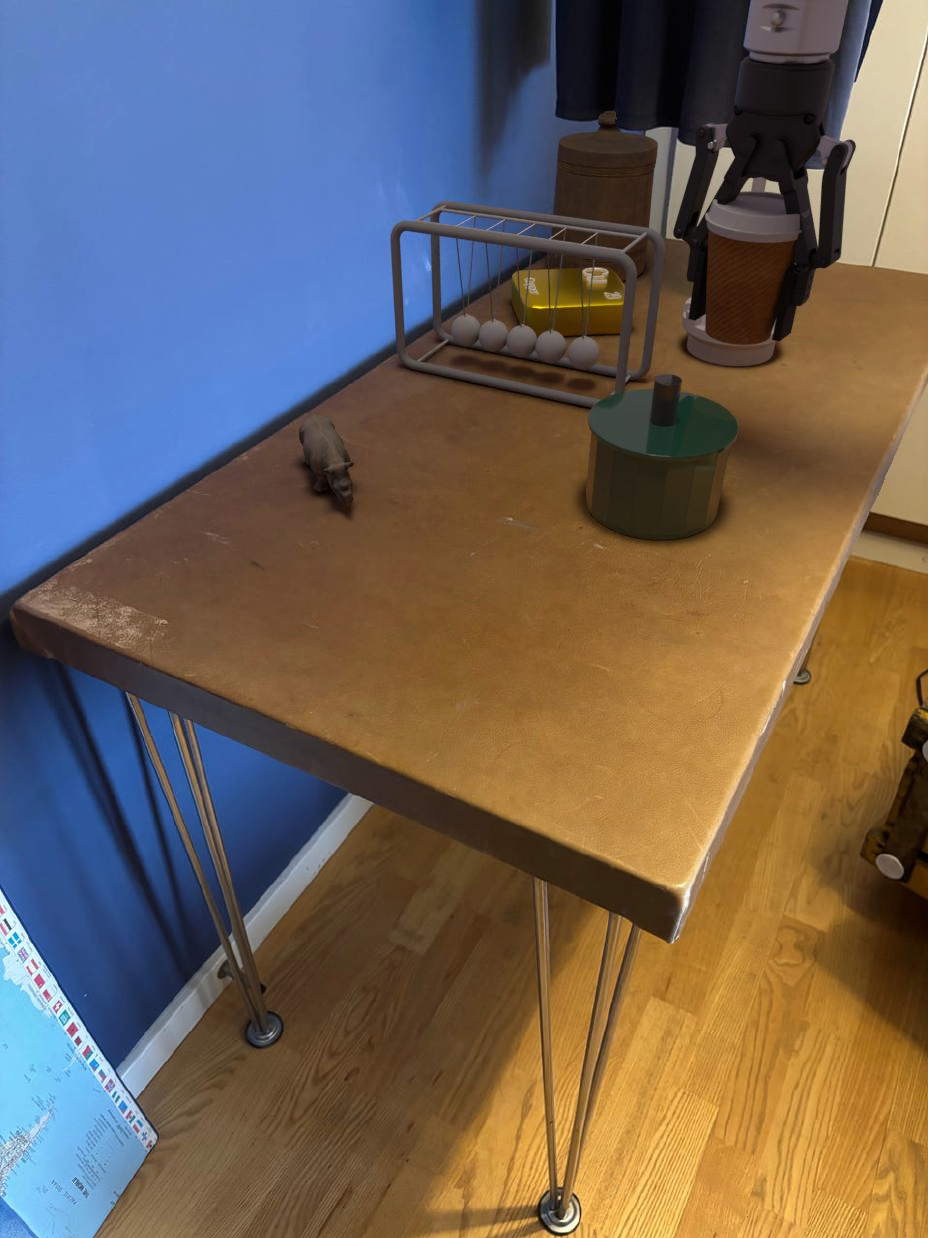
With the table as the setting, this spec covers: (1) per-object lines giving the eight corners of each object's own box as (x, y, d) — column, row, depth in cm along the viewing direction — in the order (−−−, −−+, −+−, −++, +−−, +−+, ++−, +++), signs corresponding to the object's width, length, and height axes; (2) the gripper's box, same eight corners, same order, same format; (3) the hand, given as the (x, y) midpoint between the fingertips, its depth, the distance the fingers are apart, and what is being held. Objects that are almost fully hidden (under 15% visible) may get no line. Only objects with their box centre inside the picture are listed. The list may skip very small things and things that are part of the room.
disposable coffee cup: (685, 347, 87) (705, 215, 79) (690, 311, 94) (709, 187, 87) (789, 356, 85) (819, 221, 78) (786, 319, 92) (813, 192, 85)
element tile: (509, 299, 134) (509, 266, 131) (609, 295, 135) (612, 262, 132) (524, 339, 122) (525, 303, 119) (634, 333, 123) (638, 298, 120)
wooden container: (655, 260, 147) (674, 106, 133) (626, 289, 137) (643, 125, 123) (569, 248, 152) (579, 99, 138) (535, 275, 142) (541, 116, 128)
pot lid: (761, 425, 85) (772, 373, 82) (692, 483, 77) (702, 429, 74) (634, 387, 92) (640, 337, 89) (558, 437, 84) (562, 385, 80)
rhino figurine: (329, 526, 87) (322, 471, 83) (297, 460, 97) (289, 408, 93) (371, 518, 88) (366, 462, 84) (334, 453, 98) (329, 401, 94)
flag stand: (788, 371, 113) (851, 96, 94) (682, 367, 114) (722, 95, 96) (773, 331, 123) (826, 76, 104) (675, 328, 125) (710, 75, 106)
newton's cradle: (650, 381, 111) (669, 229, 100) (620, 415, 104) (637, 255, 93) (436, 338, 122) (432, 197, 111) (395, 367, 115) (387, 219, 104)
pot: (738, 498, 90) (755, 419, 85) (677, 556, 82) (691, 473, 77) (628, 460, 96) (637, 384, 91) (561, 510, 89) (566, 431, 83)
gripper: (653, 50, 78) (626, 313, 92) (902, 73, 68) (828, 364, 82) (695, 40, 82) (662, 292, 97) (934, 60, 72) (858, 339, 86)
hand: (738, 325), depth 89 cm, fingers closed on disposable coffee cup, 8 cm apart
